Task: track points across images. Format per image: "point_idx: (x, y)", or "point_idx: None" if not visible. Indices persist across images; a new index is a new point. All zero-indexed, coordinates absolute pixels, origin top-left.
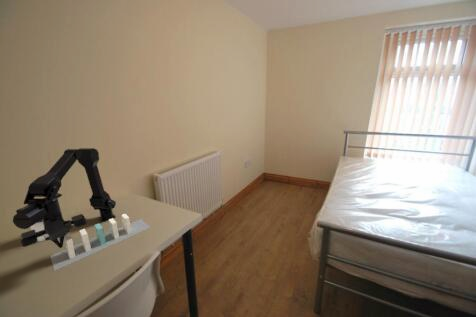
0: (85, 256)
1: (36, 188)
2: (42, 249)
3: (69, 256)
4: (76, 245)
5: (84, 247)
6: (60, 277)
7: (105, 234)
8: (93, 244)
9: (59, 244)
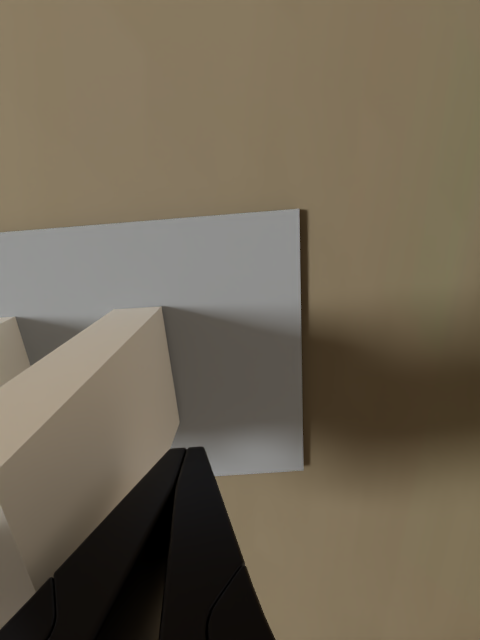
0: (15, 236)
1: None
2: (335, 582)
3: (150, 315)
4: None
5: (10, 378)
6: (260, 33)
7: None
8: None
9: (181, 498)
